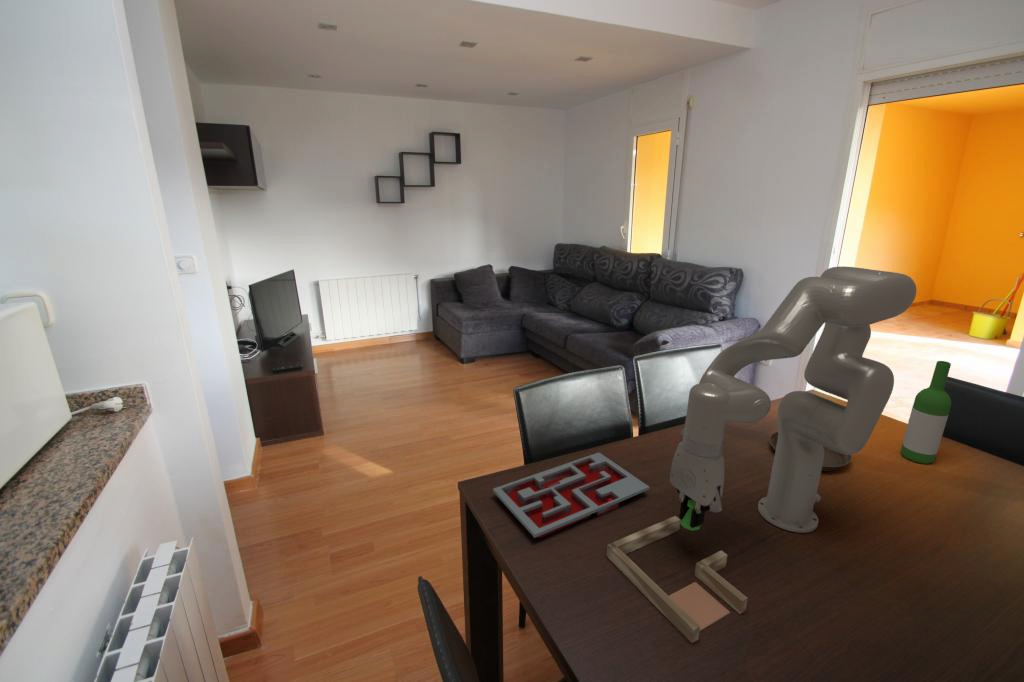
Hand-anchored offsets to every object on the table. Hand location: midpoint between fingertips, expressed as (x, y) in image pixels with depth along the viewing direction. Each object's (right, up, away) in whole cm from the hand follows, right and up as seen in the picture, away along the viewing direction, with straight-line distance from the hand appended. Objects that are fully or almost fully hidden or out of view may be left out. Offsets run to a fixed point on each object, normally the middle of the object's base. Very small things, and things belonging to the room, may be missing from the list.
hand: (690, 520), depth 98 cm
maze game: (-23, -2, +21) cm, 31 cm away
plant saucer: (+50, +4, +40) cm, 64 cm away
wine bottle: (+81, +4, +38) cm, 90 cm away
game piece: (0, -1, 0) cm, 1 cm away
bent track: (-4, -9, -4) cm, 11 cm away
